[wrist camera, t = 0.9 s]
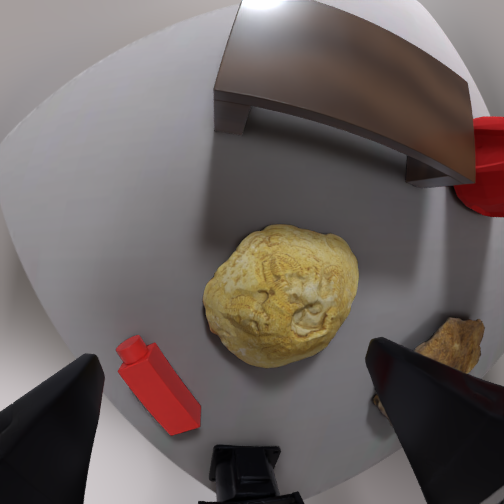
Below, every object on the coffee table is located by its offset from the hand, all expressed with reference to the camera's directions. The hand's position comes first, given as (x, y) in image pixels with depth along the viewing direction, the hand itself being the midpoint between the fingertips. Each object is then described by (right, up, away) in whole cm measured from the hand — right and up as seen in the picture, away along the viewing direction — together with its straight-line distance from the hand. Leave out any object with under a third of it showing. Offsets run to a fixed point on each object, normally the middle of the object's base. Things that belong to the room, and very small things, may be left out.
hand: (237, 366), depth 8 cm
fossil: (+3, 0, +12) cm, 12 cm away
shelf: (+7, +15, +11) cm, 20 cm away
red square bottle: (-7, -7, +12) cm, 15 cm away
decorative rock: (+19, -8, +15) cm, 26 cm away
